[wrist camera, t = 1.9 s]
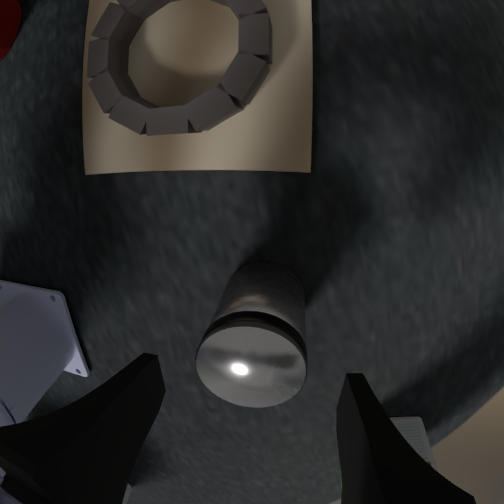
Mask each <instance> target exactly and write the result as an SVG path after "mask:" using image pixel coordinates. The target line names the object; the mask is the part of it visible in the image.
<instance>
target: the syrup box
mask: <svg viewBox="0 0 504 504" xmlns="http://www.w3.org/2000/svg"><path fill="white" fill-rule="evenodd" d="M390 419H391V421H392V422H393V424H394V425H395V426H396V428H397V429H398V430H399V432H400V433H401V434H402V436H403V437H404V438H405V439H406V441H407V442H408V443H409V444H410V445H411V446H412V448H413V449H414V450H415V451H416V452H417V453H418V454H419V455H420V456H421V457H422V458H423V459H424V460H425V461H426V462H427V463H428V464H429V465H430V466H432V467H433V468H434V469H435V470H436V471H437V469H436V465H435V461H434V458H433V454H432V451H431V447H430V444H429V441H428V438H427V434H426V431H425V428H424V424H423V422H422V419H421V417H394V418H390ZM340 472H341V468H340ZM341 491H342V479H341Z"/></svg>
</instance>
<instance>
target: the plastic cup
mask: <svg viewBox="0 0 504 504" xmlns="http://www.w3.org/2000/svg"><path fill="white" fill-rule="evenodd" d="M21 15H22V8H21V6H20V3H19V2H18V1H17V0H0V61H1V60H2V59H3V58H4V56H5V55H6V53H7V52H8V51H9V49H10V48H11V46H12V44H13V42H14V40H15V37H16V35H17V33H18V29H19V26H20V23H21Z"/></svg>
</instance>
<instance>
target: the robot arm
mask: <svg viewBox="0 0 504 504" xmlns="http://www.w3.org/2000/svg"><path fill="white" fill-rule="evenodd" d="M63 370H65V371H68V372H71V373H74V374H77V375H81V376H84V377H88V375H89V374H90V372H89V369H88V366H87V364H86V361H85V358H84V356H83V353H82V350H81V347H80V344H79V341H78V339H77V336H76V332H75V329H74V326H73V323H72V320H71V317H70V313H69V310H68V306H67V303H66V299H65V296H64V295H63V293H61V292H60V291H55V290H50V289H44V288H39V287H34V286H29V285H23V284H18V283H14V282H9V281H4V280H0V504H122V503H123V499H124V495H125V492H126V488H127V485H128V481H129V478H130V475H131V472H132V469H133V466H134V463H135V460H136V458H137V456H138V453H139V451H140V449H141V447H142V445H143V443H144V441H145V439H146V437H147V435H148V433H149V431H150V429H151V427H152V425H153V423H154V421H155V419H156V416H157V414H158V412H159V410H160V407H161V404H162V401H163V398H164V394H165V391H166V390H165V386H164V381H163V377H162V373H161V369H160V364H159V360H158V355H153V354H148V353H143V354H142V355H140V356H139V357H138V358H136V359H135V360H134V361H132V362H131V363H130V364H129V365H127V366H126V367H125V368H123V369H122V370H121V371H120V372H118V373H117V374H116V375H114V376H113V377H112V378H110V379H109V380H108V381H106V382H105V383H103V384H102V385H100V386H99V387H97V388H96V389H94V390H93V391H92V392H90V393H89V394H87V395H85V396H84V397H82V398H80V399H79V400H77V401H75V402H73V403H71V404H69V405H67V406H65V407H63V408H61V409H59V410H56V411H54V412H52V413H49V414H47V415H44V416H41V417H38V418H36V419H32V420H29V421H25V422H23V421H24V419H25V418H26V417H27V415H28V414H29V413H30V412H31V410H32V409H33V408H34V406H35V405H36V404H37V403H38V401H39V400H40V399H41V397H42V396H43V395H44V394H45V392H46V391H47V390H48V389H49V387H50V386H51V385H52V384H53V383H54V381H55V380H56V379H57V378H58V376H59V375H60V374H61V373H62V372H63ZM337 440H338V449H339V459H340V468H341V479H342V499H341V504H476V502H475V499H474V497H473V496H472V495H470V494H469V493H467V492H465V491H464V490H462V489H460V488H459V487H457V486H456V485H454V484H453V483H451V482H450V481H448V480H447V479H446V478H445V477H443V476H442V475H441V474H439V473H438V472H437V471H436V470H435V469H434V468H433V467H432V466H430V465H429V464H428V463H427V462H426V461H425V460H424V459H423V458H422V457H421V456H420V455H419V454H418V453H417V452H416V451H415V450H414V449H413V448H412V446H411V445H410V444H409V443H408V442H407V441H406V439H405V438H404V437H403V436H402V434H401V433H400V432H399V430H398V429H397V428H396V426H395V425H394V424H393V422H392V421H391V419H390V418H389V416H388V415H387V413H386V412H385V410H384V409H383V407H382V406H381V404H380V403H379V401H378V399H377V398H376V396H375V394H374V393H373V391H372V389H371V387H370V386H369V384H368V382H367V380H366V378H365V376H364V375H363V374H362V373H346V377H345V380H344V384H343V388H342V391H341V395H340V398H339V402H338V405H337Z"/></svg>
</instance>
